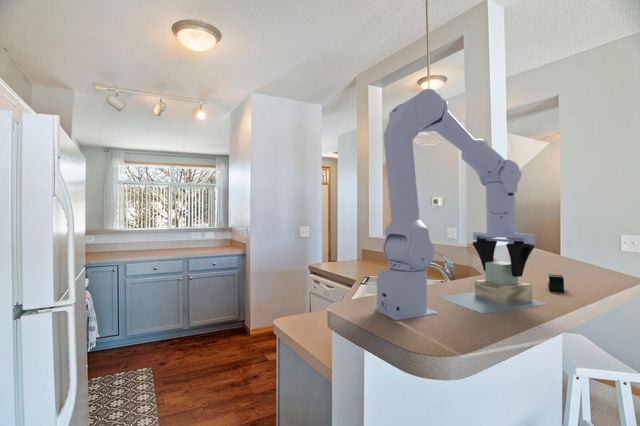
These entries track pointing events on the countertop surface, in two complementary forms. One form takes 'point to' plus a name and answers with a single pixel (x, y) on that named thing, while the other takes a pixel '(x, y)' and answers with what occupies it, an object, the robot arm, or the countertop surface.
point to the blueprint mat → (485, 303)
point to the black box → (556, 283)
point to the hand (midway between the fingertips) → (502, 273)
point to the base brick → (503, 292)
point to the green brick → (500, 273)
